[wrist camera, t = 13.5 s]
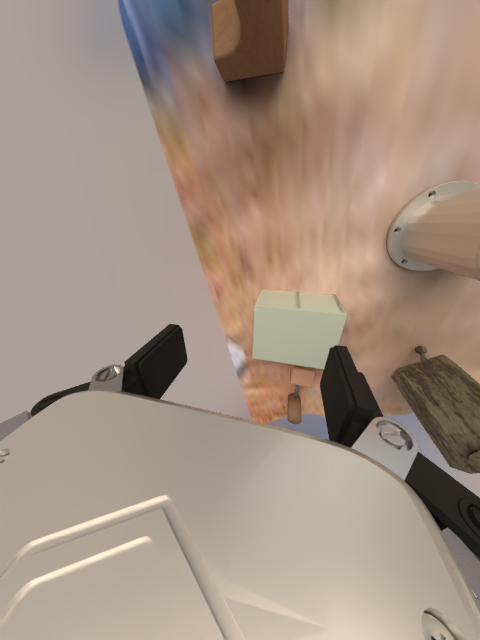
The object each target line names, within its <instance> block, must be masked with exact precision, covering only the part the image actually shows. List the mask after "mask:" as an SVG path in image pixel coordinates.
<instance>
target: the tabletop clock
mask: <svg viewBox="0 0 480 640" xmlns="http://www.w3.org/2000/svg"><path fill="white" fill-rule="evenodd" d="M426 350H427V349H426V348H425V347H423V346H418V347H417V348H416V352H418V353H420V355H421V362H418V363H415V364H412V365H408V366H405V367H402V368H399V369H397V371H396V372H395V373H394V374H393V376H392V379H393V380H394V382H395V384H396V385H397V387H398V388H399V390H400V391H401V393H402V394H403V396H404V398H405V399H406V401H407V402H408V404H409V405H410V407H411V408H412V410H413V411H414V413H415V415H416V416H417V418H418V419H419V421H420V422H421V424H422V425H423V427H424V428H425V430H426V431H427V433H428V434H429V436H430V437H431V439H432V440H433V442H434V443H435V445H436V446H437V448H438V449H439V451H440V452H441V454H442V455H443V457H444V458H445V460H446V461H447V463H448V464H449V466H450V467H452V468H455V469H458V470H461V471H464V472H467V473H471V474H472V473H480V384H479V383H478V382H476V381H475V380H474V379H473V378H472V377H471V376H470V375H469V374H467V373H466V372H465V371H464V370H463V369H461V368H460V367H459V366H458V365H456V364H455V363H454V362H453V361H451V360H450V359H449V358H447V357H446V356H444V355H440V356H437V357H434V358H431V359H427V360H426V358H425V355H424V353H426Z"/></svg>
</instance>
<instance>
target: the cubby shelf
mask: <svg viewBox="0 0 480 640" xmlns="http://www.w3.org/2000/svg"><path fill="white" fill-rule="evenodd" d="M346 318H347V313H346V312H345V310H344V308H343V307H342V305H341V303H340V302H339V300H338V298H337V297H336V295H331V294H317V293H304V292H290V291H276V290H263V289H262V290H261V292H260V295H259V297H258V299H257V301H256V304H255V306H254V334H253V358H254V359H261V360H267V361H274V362H280V363H286V364H293V365H299V366H305V367H312V368H318V369H324V368H325V364H326V360H327V357H328V353H329V350H330V348H331V347H334V346H335V345H338V344H339V341H340V337H341V334H342V331H343V328H344V324H345V321H346Z"/></svg>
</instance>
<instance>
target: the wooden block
mask: <svg viewBox="0 0 480 640" xmlns="http://www.w3.org/2000/svg"><path fill="white" fill-rule="evenodd" d="M212 27H213V51H214V61H215V63H216V66H217V68H218V70H219V72H220V74H221V76H222V78H223V80H224V81H225V82H227V81H233V80H239V79H245V78H250V77H256V76H262V75H268V74H274V73H279V72H283V71H284V69H285V62H286V49H287V36H288V0H220V1H218V2H216V3H214V4H213V5H212Z"/></svg>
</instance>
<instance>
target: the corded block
mask: <svg viewBox="0 0 480 640" xmlns="http://www.w3.org/2000/svg"><path fill="white" fill-rule="evenodd" d="M315 373H316V371H315V368H312V367H305V366H299V365H293V364H291V368H290V384H296V389H295V393H294V394H290V395H288V421H289V422H291V423H293V424H299V423H301V402H300V396H299V395H297V394H298V390H299V385H301V386H306V387H312V384H313V380H314V376H315Z"/></svg>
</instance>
